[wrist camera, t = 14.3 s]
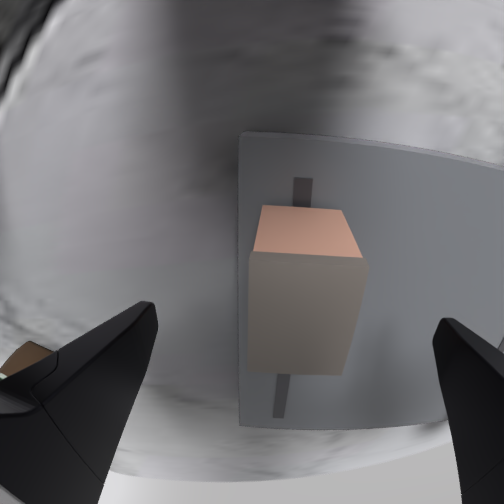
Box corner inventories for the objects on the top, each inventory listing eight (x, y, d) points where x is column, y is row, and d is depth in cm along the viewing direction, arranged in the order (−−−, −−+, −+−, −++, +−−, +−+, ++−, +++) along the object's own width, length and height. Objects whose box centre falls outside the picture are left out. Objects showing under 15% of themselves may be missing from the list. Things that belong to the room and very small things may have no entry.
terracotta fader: (261, 203, 12) (248, 259, 8) (342, 208, 12) (369, 266, 8) (258, 294, 14) (247, 371, 10) (329, 298, 14) (341, 375, 10)
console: (244, 131, 13) (238, 136, 11) (561, 184, 12) (582, 195, 10) (242, 403, 21) (239, 426, 20) (472, 396, 20) (479, 415, 18)
